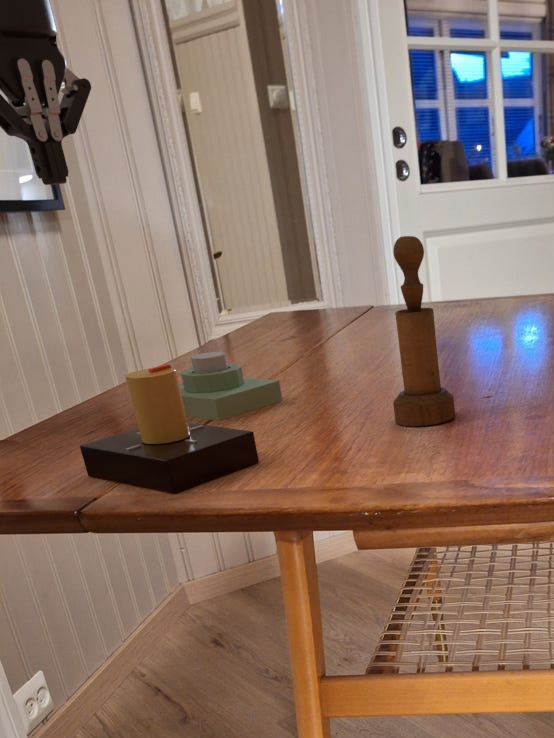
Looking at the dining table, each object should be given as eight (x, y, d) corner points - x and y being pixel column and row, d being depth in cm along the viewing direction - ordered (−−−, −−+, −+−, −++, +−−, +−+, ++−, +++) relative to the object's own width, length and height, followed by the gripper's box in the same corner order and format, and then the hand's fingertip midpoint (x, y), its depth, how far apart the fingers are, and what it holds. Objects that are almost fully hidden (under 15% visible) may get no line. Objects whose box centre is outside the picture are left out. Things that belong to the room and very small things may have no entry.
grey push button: (187, 375, 104) (183, 357, 103) (213, 368, 106) (210, 351, 106) (209, 377, 102) (205, 359, 101) (235, 370, 104) (232, 352, 103)
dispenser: (154, 412, 106) (145, 375, 103) (218, 394, 113) (210, 358, 111) (219, 421, 99) (211, 381, 97) (282, 401, 106) (276, 363, 104)
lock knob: (163, 446, 79) (145, 375, 76) (131, 441, 81) (113, 372, 78) (200, 433, 82) (185, 365, 79) (169, 430, 84) (153, 363, 81)
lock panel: (88, 476, 83) (78, 443, 81) (173, 448, 90) (166, 418, 88) (174, 494, 76) (165, 458, 74) (259, 462, 83) (253, 429, 82)
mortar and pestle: (407, 411, 97) (388, 235, 89) (462, 411, 96) (448, 231, 87) (386, 427, 92) (364, 240, 83) (445, 427, 90) (428, 236, 81)
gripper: (-49, -39, 75) (15, 185, 84) (85, -21, 85) (131, 179, 93) (-90, -23, 79) (-25, 189, 88) (43, -8, 89) (90, 183, 97)
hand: (55, 183), depth 90 cm, fingers closed
